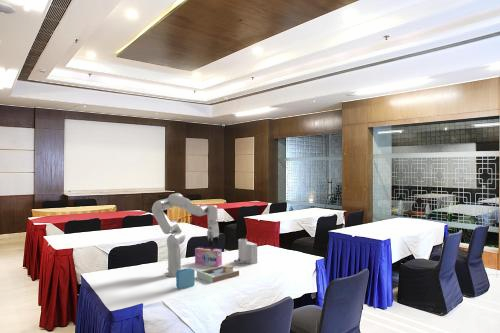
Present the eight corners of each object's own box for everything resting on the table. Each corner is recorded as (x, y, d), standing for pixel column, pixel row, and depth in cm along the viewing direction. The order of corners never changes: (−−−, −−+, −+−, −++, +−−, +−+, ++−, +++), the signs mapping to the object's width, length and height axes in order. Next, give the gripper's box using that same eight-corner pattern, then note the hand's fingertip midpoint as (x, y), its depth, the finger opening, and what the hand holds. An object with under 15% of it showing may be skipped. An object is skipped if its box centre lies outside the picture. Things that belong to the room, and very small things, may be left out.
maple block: (222, 271, 272) (222, 265, 272) (229, 269, 276) (228, 264, 276) (226, 272, 268) (226, 267, 268) (232, 270, 272) (232, 265, 272)
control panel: (257, 262, 301) (257, 239, 301) (239, 266, 291) (239, 242, 291) (247, 258, 315) (246, 236, 315) (229, 262, 304) (229, 239, 304)
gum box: (193, 264, 300) (193, 248, 300) (198, 261, 308) (198, 246, 308) (217, 267, 290) (217, 250, 290) (222, 264, 298) (222, 248, 298)
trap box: (196, 277, 264) (196, 270, 264) (224, 270, 282) (224, 263, 282) (211, 283, 250) (211, 276, 250) (239, 275, 267) (239, 268, 267)
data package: (191, 284, 249) (191, 267, 249) (194, 285, 245) (194, 268, 245) (176, 287, 241) (176, 270, 241) (179, 289, 238) (178, 272, 238)
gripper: (212, 223, 253) (213, 247, 253) (222, 220, 269) (223, 242, 269) (202, 223, 256) (203, 246, 255) (213, 220, 272) (214, 242, 272)
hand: (213, 244), depth 262 cm, fingers open, 9 cm apart
